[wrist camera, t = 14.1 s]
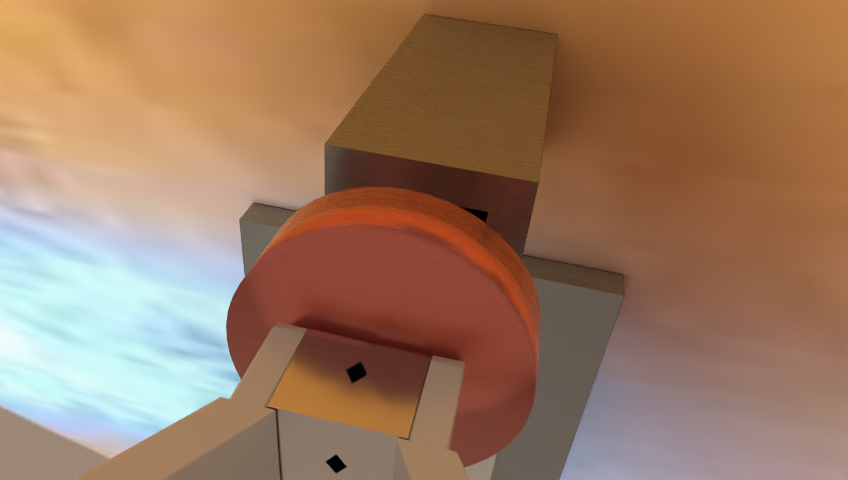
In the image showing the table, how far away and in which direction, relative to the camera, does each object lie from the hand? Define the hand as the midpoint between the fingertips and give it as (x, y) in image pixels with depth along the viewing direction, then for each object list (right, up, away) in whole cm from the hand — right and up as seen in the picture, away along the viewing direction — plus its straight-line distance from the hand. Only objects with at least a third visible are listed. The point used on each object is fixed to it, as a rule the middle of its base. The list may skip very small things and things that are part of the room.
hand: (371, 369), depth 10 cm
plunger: (+2, +6, +9) cm, 11 cm away
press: (+1, 0, +15) cm, 15 cm away
